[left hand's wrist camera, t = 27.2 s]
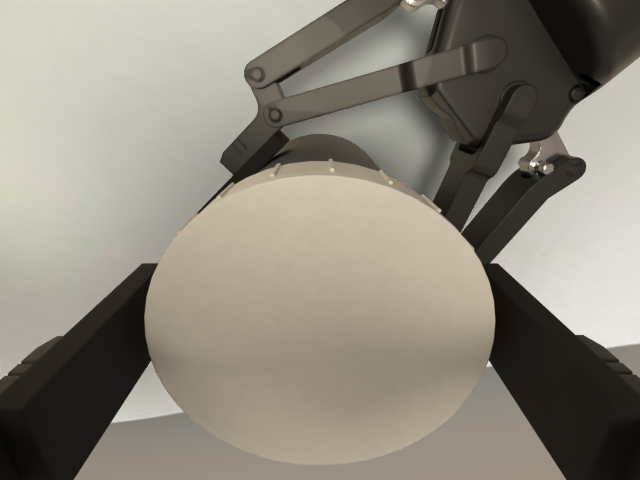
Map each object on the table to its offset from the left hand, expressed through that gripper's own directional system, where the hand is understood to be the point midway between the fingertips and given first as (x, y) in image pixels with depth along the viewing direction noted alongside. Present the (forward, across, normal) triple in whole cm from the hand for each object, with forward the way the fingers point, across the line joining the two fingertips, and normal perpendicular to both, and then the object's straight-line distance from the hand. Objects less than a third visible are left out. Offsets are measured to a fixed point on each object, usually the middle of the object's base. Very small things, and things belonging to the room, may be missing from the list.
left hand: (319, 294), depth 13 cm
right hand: (+7, -3, -3) cm, 9 cm away
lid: (-3, 0, 0) cm, 3 cm away
